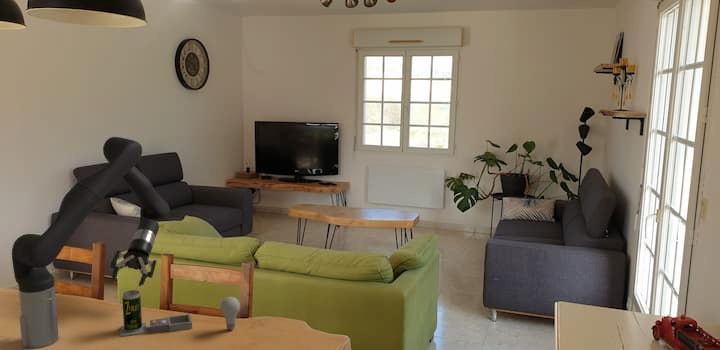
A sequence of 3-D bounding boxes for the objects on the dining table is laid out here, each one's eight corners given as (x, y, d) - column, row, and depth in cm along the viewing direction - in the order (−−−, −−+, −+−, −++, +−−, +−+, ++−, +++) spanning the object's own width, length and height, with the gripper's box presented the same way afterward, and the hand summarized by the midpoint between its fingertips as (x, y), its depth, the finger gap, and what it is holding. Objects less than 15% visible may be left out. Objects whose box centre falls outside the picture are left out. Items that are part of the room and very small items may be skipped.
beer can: (123, 327, 178) (121, 291, 176) (141, 324, 180) (139, 288, 178) (125, 333, 173) (123, 297, 171) (143, 330, 176) (141, 294, 174)
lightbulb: (243, 326, 181) (242, 294, 179) (237, 334, 175) (236, 301, 173) (224, 325, 182) (224, 293, 180) (218, 333, 176) (217, 300, 174)
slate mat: (120, 337, 172) (120, 335, 172) (120, 327, 179) (120, 326, 179) (146, 333, 175) (146, 332, 175) (145, 323, 182) (145, 322, 182)
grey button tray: (150, 334, 174) (150, 326, 173) (150, 325, 180) (149, 317, 180) (192, 328, 179) (191, 320, 178) (189, 320, 185) (189, 312, 185)
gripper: (122, 232, 194) (106, 269, 182) (163, 243, 198) (150, 280, 186) (120, 245, 199) (104, 282, 187) (160, 256, 203) (146, 292, 191)
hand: (127, 281), depth 186 cm, fingers open, 8 cm apart
